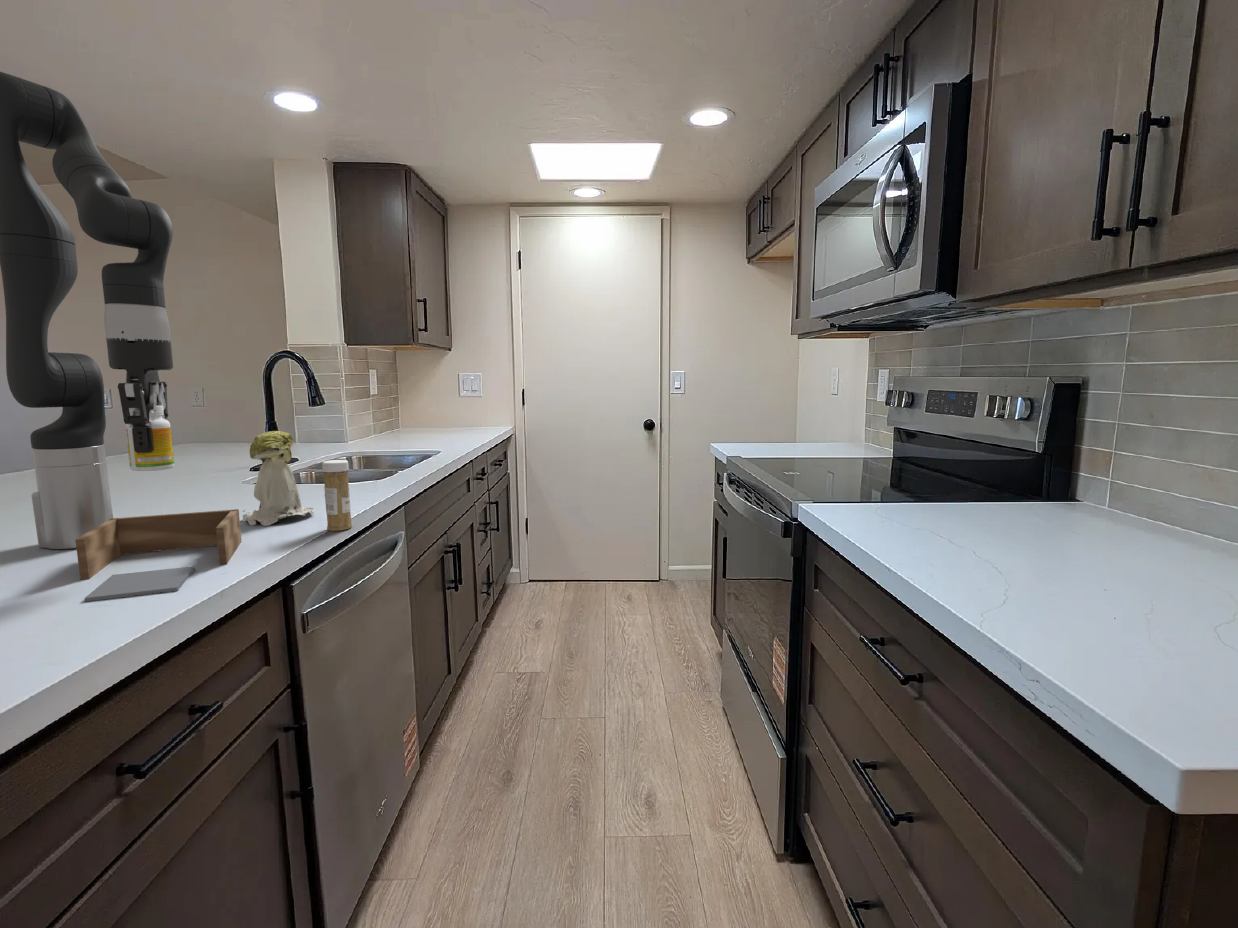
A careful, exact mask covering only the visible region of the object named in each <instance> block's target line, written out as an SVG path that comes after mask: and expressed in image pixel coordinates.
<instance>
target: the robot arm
mask: <svg viewBox="0 0 1238 928" xmlns="http://www.w3.org/2000/svg"><path fill="white" fill-rule="evenodd" d="M20 142H21V143H24V144H27V145H32V146H36V147H39V148H43V149H47V150H55V151H54V153H53V156H52V162H51V163H52V170H53V173H54V175H55V177H56V179H57V180H58V182H59V183H60V184H61V186H62V187H63V189H64V190H65V191H66V192H67V194H69V196H71V198H72V199H73V201H74V202H73V203H74V204H75V208H76V211H77V217H78V223H79V226H80V229H81V230H82V231H83V232H84V234H86V235H87V237H90V238H91V239H93V240H95V241H96V242H99V243H103V244H107V245H112V246H118V247H123V248H131V249H134V250H137V256H136V258H135V260H134V261H132V262H131V261H130V262H111V263H107V264H105V265H104V266H103V267H102V268H101V282H102V283H101V284H102V291H103V292H102V294H103V301H104V302H103V303H104V319H103V320H104V329H105V330H104V331H105V339H106V347H107V349H106V351H107V355H108V356H107V359H108V366H109V368H111V369H112V370H124V371H125V372H126V377H125V382H119V383H117V390H118V394H119V399H120V406H121V411H122V417H123V423H124V424H125V425H126V424H129V426H130V427H133V428H132V433H133V443H134V451H135V452H137V453H150V452H152V451H154V443H153V433H152V427H151V426H152V414H153V413H155V412H156V405H159V406H163V411H164V413H163V414H164V415H162V418H163V419H165V420H167V419H168V417H169V408H168V407H169V406H168V384H167V381H161V380H160V377H159V376H160V375H159V373H158V371H171V370H173V369H174V360H173V359H174V358H173V350H172V340H171V338H172V337H171V330H170V329H171V327H170V322H169V318H168V314H167V310H166V299H165V289H164V278H165V271H166V266H167V262H168V257H169V252H170V249H171V246H172V241H173V236H174V226H173V222H172V220H171V218H170V215H168V213H167V211H166V210H165V209H164V208H163V207H162V206H160V205H159V204H156V203H154V202H151V201H147V200H144V199H143V200H142V199H138V198H135V197H133V196H132V195H133V194H132V192H131V190H130V188H129V186H128V184H127V183H126V182H125V180H123V178H122V176H121V175H119V174H118V173H117V172H116V170H115V169H114V168H113V167H112V165H110V163H108V161H107V160H106V159H105V158H104V156H103V155H102V154H101V152H100V150H99V148H98V146H97V144H96V142H95V140H94V138H93V136H92V134H91V132H90V131H89V129H88V127H87V125H86V123H85V121H84V120H83V117H82V116H81V114H80V113H79V110H78V109H77V108H76V106H75V105H74V103H73V102H72V101H71V100H70V99H69V98H68V97H67V96H66V95H65V94H63V93H62V92H60V91H57V90H55V89H53V88H50V87H47V86H45V85H41V84H39V83H37V82H36V83H35V82H33V81H31V80H27V79H24V78H21V77H19V76H16V75H14V74H13V75H12V74H9V73H6V72H3V71H0V272H1V273H0V274H1V277H2V278H1V280H2V288H3V295H4V297H3V298H4V308H5V309H4V310H5V371H6V380H7V385H8V387H9V391H10V393H11V396H12V397H13V398H14V400H15V401H16V402H17V403H18V404H19V405H21V406H23V407H25V408H31V409H39V408H40V409H41V408H45V409H46V408H62V411H61V415H60V416H59V417H58V418H57V419H56V420H54V421H52V422H51V423H50V424H47V425H45V426H43V427H40V428H38V429H35V430H33V431H32V432H31V433H30V438H29V439H30V445H31V452H32V457H33V465H34V466H33V467H34V472H35V480H36V487H37V491H35V492H33V493H32V494H31V501H32V510H33V516H34V522H35V523H34V525H35V530H36V536H37V543H38V544H37V546H38V548H46V549H49V550H50V549H51V550H67V549H76V541H75V540H76V539H77V538H79V537H81V536H82V535H84V534H86V533H87V532H89V531H91V530H93V529H94V528H96V527H98V526H99V525H101V524H103V523H104V522H106V521H108V520H109V519H112V518H114V514H113V512H114V511H113V506H112V496H111V489H110V481H109V473H108V465H107V455H106V448H105V441H104V439H105V438H104V435H105V432H106V427H107V424H106V423H107V420H106V419H107V418H106V404H105V402H106V401H105V387H104V384H105V383H104V379H103V378H104V377H103V374H102V371H101V369H100V367H99V365H98V364H97V362H96V361H95V359H93V358H92V357H91V356H89V355H87V354H83V353H76V352H74V353H73V352H51V351H49V348H48V338H49V337H48V335H49V334H48V333H49V325H50V323H51V320H52V318H53V315H54V314H55V312H56V311H57V309H58V307H60V305H61V303H62V302H63V301H64V300H65V298H66V297H67V295H68V294H69V292H70V291H71V290H72V288H73V286H74V284H75V282H76V281H77V278H78V272H79V271H78V270H79V269H78V268H79V267H78V259H77V258H78V257H77V248H76V247H77V246H76V240H75V235H74V232H73V230H72V229H71V226H70V225H69V223H68V222H67V220H66V219H65V217H64V216H63V215H62V214H61V212H60V211H59V210H58V209H57V207H56V206H55V205H54V203H53V202H52V201H51V200H50V198H49V197H48V196H47V195H46V194H45V192H44V191H43V190H42V189H41V187H40V186H39V185H38V182H37V181H36V180H35V179H34V177H33V175H32V174H31V171H30V170H29V168H28V166H27V164H26V163H27V162H26V160H25V157H24V154H23V153H22V149H21V146H20ZM137 413H140V416H136V414H137Z"/></svg>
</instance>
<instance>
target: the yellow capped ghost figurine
mask: <svg viewBox="0 0 1238 928" xmlns="http://www.w3.org/2000/svg"><path fill="white" fill-rule="evenodd" d="M293 443H294V438H293V436H292V434H291V433H290V432H286V431H282V430H281V431H280V430H271V431H265V432H263V433H260V434H258V435H256V436H255V437H254V439H253V442H252V443H251V444H250V443H249V442H248V443H246V444H247V445H249V446H250V447H249V457H250V459H252V460H259V461H261V463H262V464H261V465H260V468H259V470H258V475H257V479H256V482H255V485H254V489H253V497H254V498H255V500H257V502H260V503H259V507H258V510H256V509H255V510H253V511H252V512H250V511H247V513H244V512H246V509H243V510H242V513H244V514H242V522H243V523H244V522H248V524H249V525H250V526H253V525H254V526H255V525H257V522H259V523H260V525H262V526H265V527H266V526H271V525H273V524H274V523H276V522H278V521H279V520H281V519H284V518H287V517H289V516H295V515H300V516H301V517H304V516H306V515H307V514H308V513H311V514H312V515H313V514H314V513H315V512H314V507H312V506H308V507H305V506H302V502H301V497H300V494H299V489H298V486H297V482H296V480H295V476H294V471H293V470H292V468H291V467H290V465H289V464H288V463H290V461H291V460H292V456H293V455H292V450H291V448H292V447H293V445H294V444H293ZM256 521H257V522H256Z"/></svg>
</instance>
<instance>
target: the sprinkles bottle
mask: <svg viewBox="0 0 1238 928" xmlns="http://www.w3.org/2000/svg"><path fill="white" fill-rule="evenodd" d="M321 465H322V468H321V469H322V472H323V482H324V483H323V484H324V500H325V502H324V503H325V512H326V521H327V526H326V529H327V530H328V531H330V532H331V531H332V532H342V531H346V530H348V529H349V530H350V529H351V528H352V527H353V524H352V515H351V514H352V513H351V498H350V497H351V496H350V486H349V484H350V483H349V461H348V460H347V459H345V460H344V459H332V460H331V459H330V460H326V461H323V462H322V463H321Z"/></svg>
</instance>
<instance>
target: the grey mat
mask: <svg viewBox="0 0 1238 928" xmlns="http://www.w3.org/2000/svg"><path fill="white" fill-rule="evenodd" d="M195 567H196V566H194V565H193V566H183V567H175V568H166V569H165V568H164V569H155V570H154V569H153V570H145V571H134V572H127V573H119V574H118V573H115V574H111V575H110V576H109V577H108V578H107V579H106V580H104V581H103V582H102V583H101V584H100V585H98V586H97V587H96V588H95V589H94V590H92V591H91V592H90V593H89V594H87V596H85V597H84V602H93V601H101V600H111V599H118V598H119V599H120V598H125V597H126V598H129V597H134V596H133V595H137V596H144V595H151V594H152V593H153V594H161V593H160V592H163V593H170V592H169V591H171V592H176V591H177V590H178V591H179V590H180V589H181V587H182V586H183V585H184V583H186V582H187V580H188V579H187V578H189V577H190V576H191V575H192V574H193V573H194V572H195V570H196V568H195ZM179 588H180V589H179ZM178 591H177V592H178Z"/></svg>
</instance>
